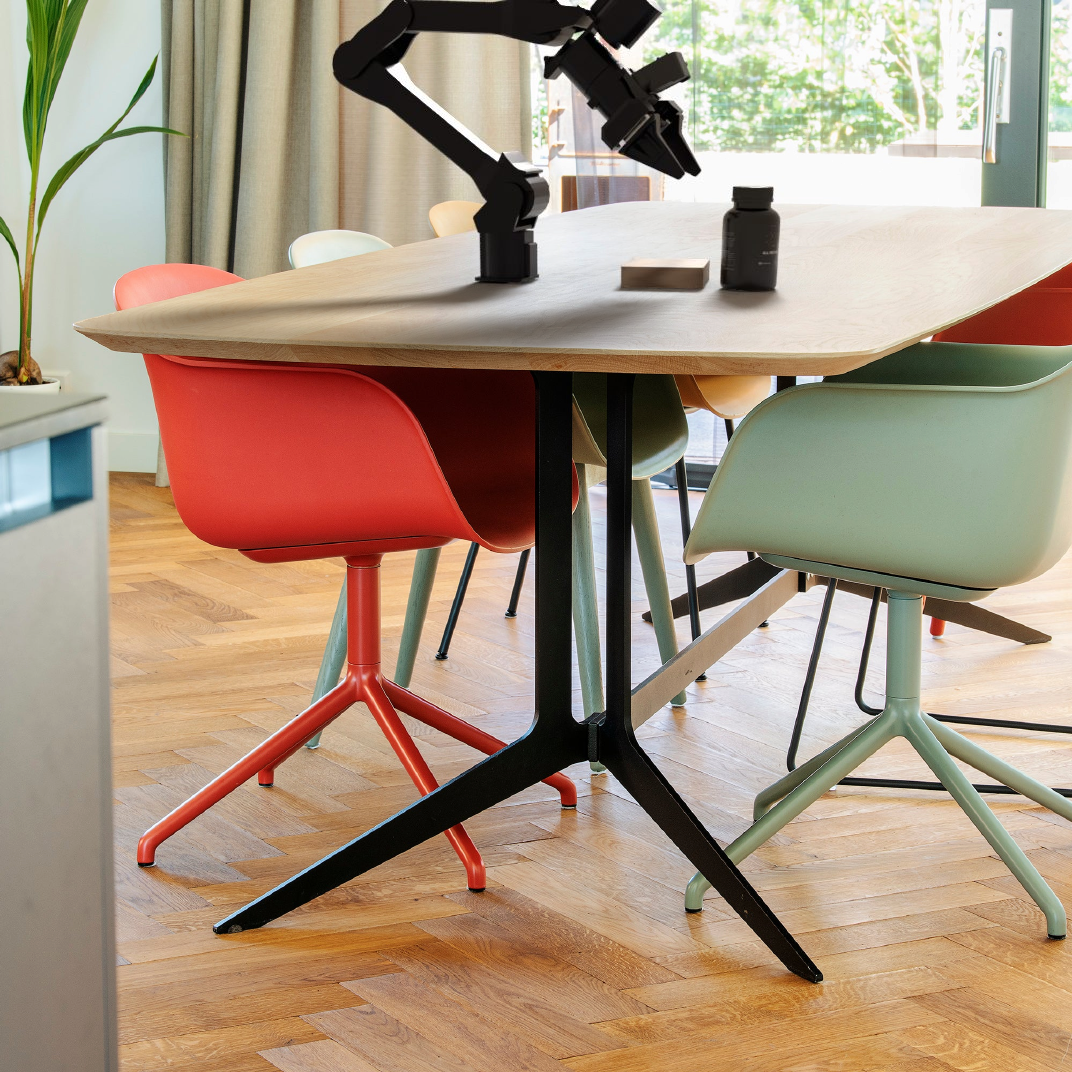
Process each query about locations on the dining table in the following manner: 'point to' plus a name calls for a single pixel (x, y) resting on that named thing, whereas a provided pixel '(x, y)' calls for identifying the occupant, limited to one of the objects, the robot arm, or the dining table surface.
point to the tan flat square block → (665, 273)
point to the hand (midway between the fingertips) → (690, 175)
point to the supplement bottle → (750, 241)
